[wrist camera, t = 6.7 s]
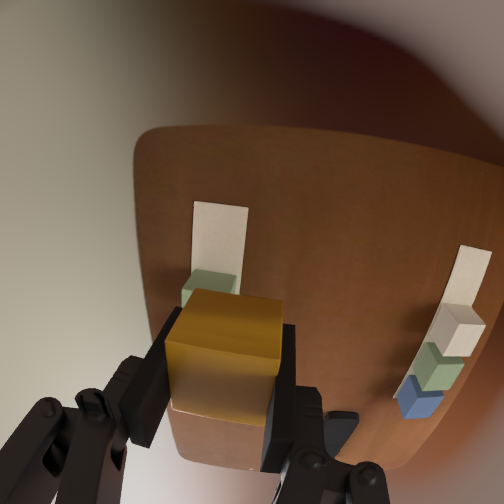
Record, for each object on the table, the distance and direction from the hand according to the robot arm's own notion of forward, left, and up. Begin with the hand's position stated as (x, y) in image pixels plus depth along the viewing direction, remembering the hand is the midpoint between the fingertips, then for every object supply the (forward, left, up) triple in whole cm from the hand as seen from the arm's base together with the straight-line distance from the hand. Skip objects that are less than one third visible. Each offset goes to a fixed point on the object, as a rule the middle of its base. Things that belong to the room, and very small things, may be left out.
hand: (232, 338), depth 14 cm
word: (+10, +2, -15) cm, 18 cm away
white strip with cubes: (-7, +25, -15) cm, 30 cm away
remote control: (+16, +30, -15) cm, 38 cm away
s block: (0, 0, -1) cm, 1 cm away
